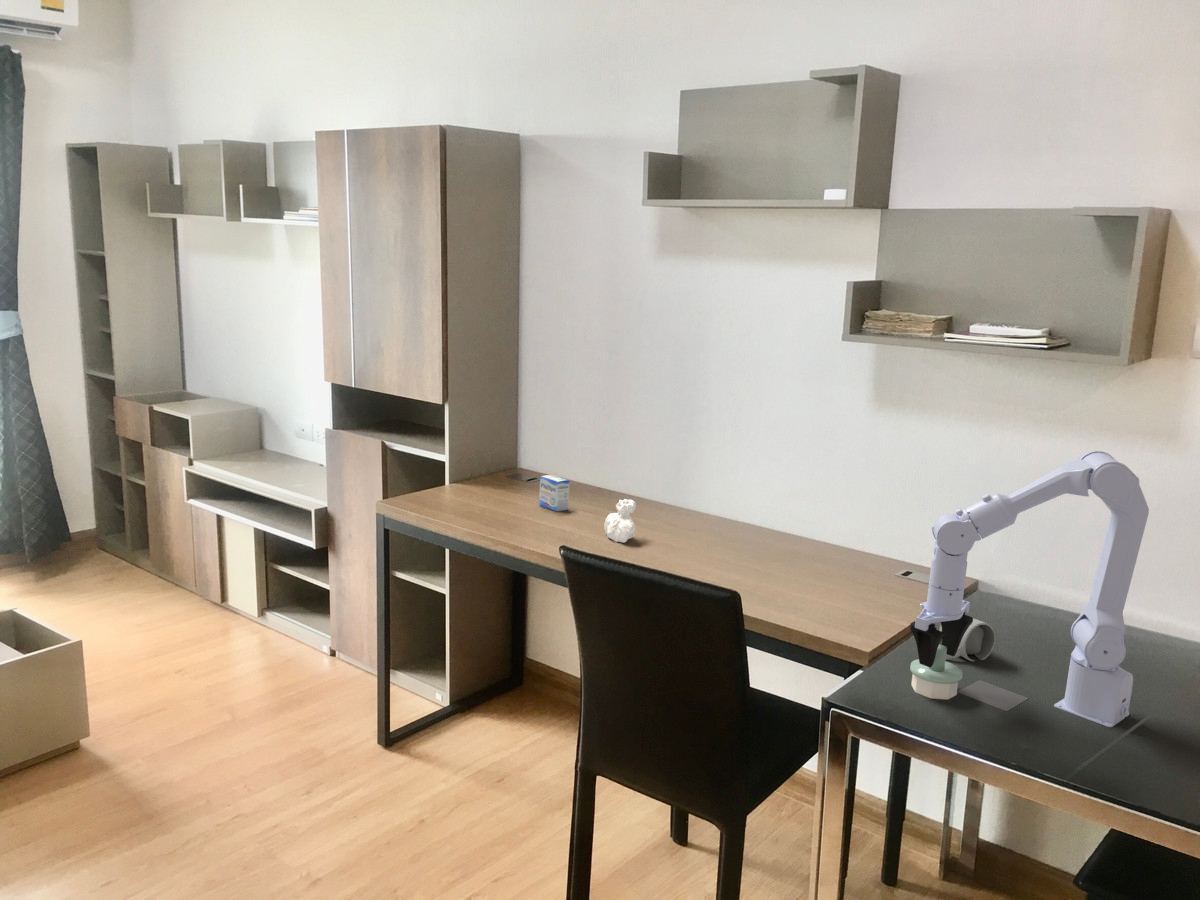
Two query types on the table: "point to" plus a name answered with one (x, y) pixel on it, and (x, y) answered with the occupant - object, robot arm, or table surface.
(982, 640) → the ceramic mug
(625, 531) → the white tied sack
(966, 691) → the mat
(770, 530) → the table surface
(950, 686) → the bowl
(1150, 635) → the table surface
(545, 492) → the medicine box
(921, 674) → the lid
